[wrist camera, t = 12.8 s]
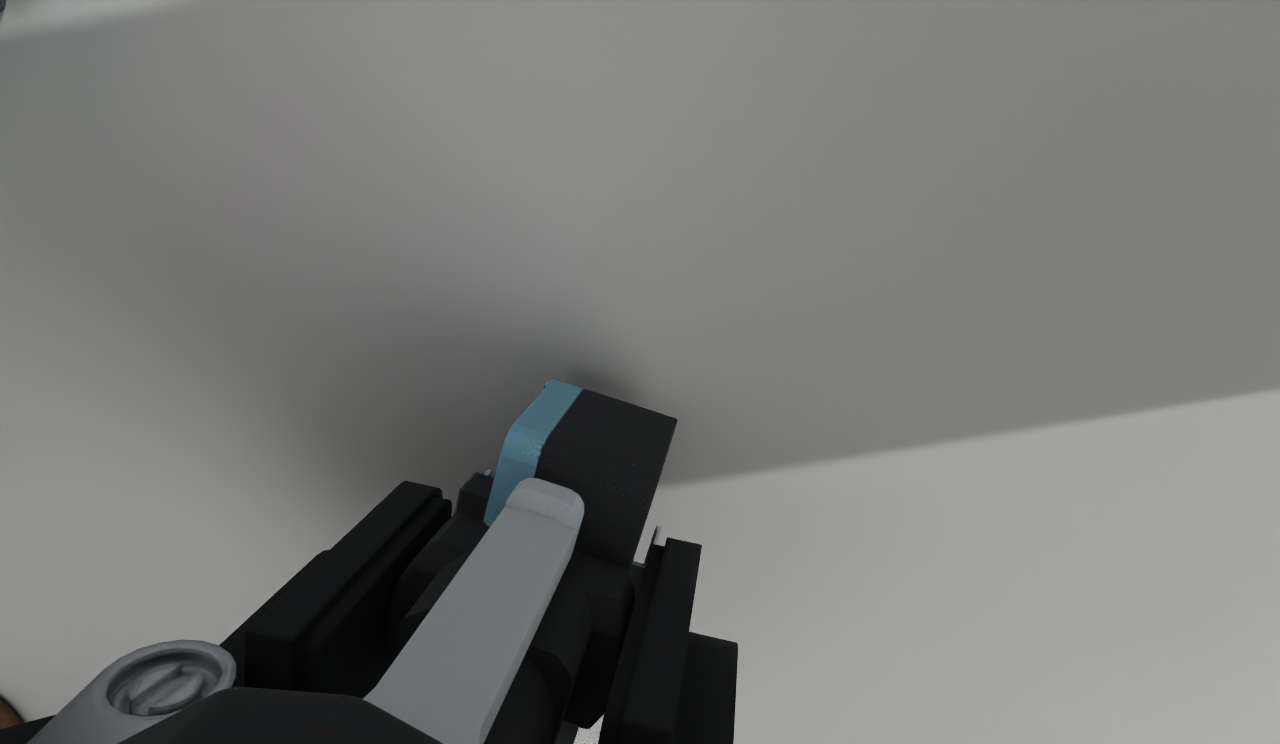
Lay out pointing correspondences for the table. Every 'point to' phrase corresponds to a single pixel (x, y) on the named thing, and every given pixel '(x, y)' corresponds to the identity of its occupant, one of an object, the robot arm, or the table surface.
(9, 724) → the place setting
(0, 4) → the disk drive
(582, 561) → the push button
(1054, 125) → the table surface
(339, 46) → the table surface
